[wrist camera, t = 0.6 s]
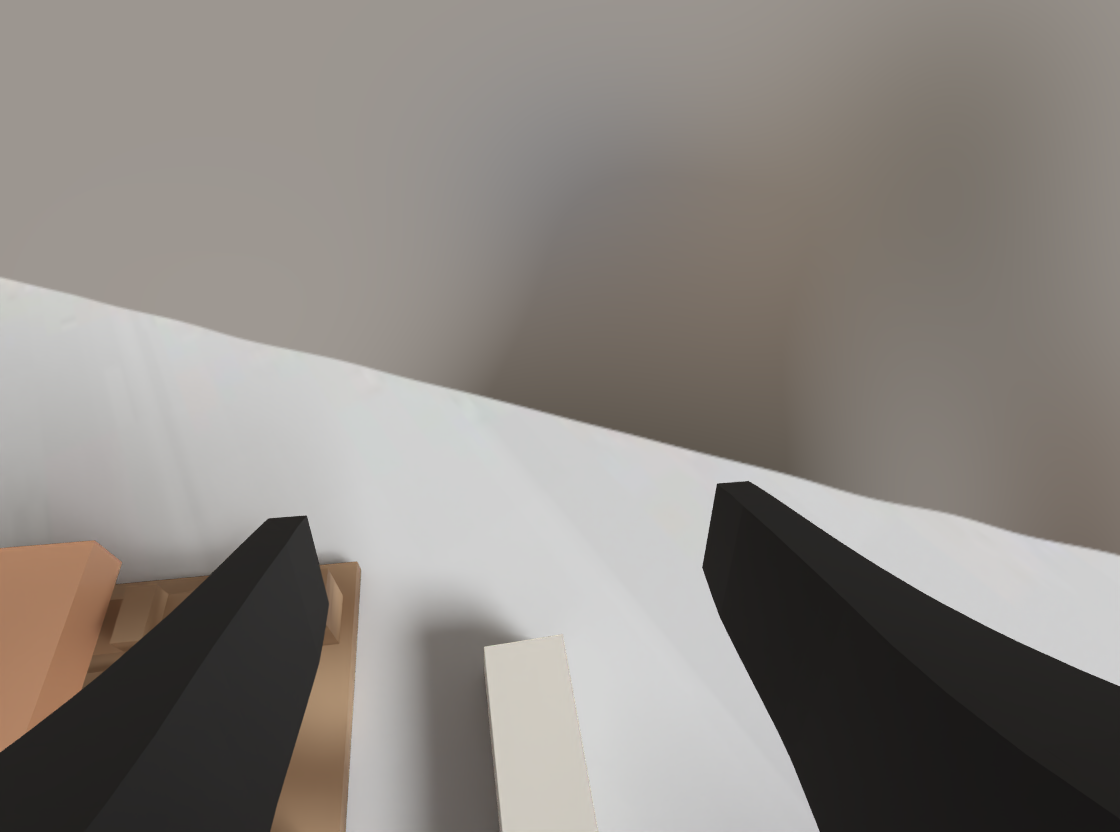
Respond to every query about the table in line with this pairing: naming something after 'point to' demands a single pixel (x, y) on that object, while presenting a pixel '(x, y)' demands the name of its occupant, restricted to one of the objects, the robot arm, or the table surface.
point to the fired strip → (48, 627)
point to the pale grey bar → (536, 739)
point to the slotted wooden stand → (325, 734)
